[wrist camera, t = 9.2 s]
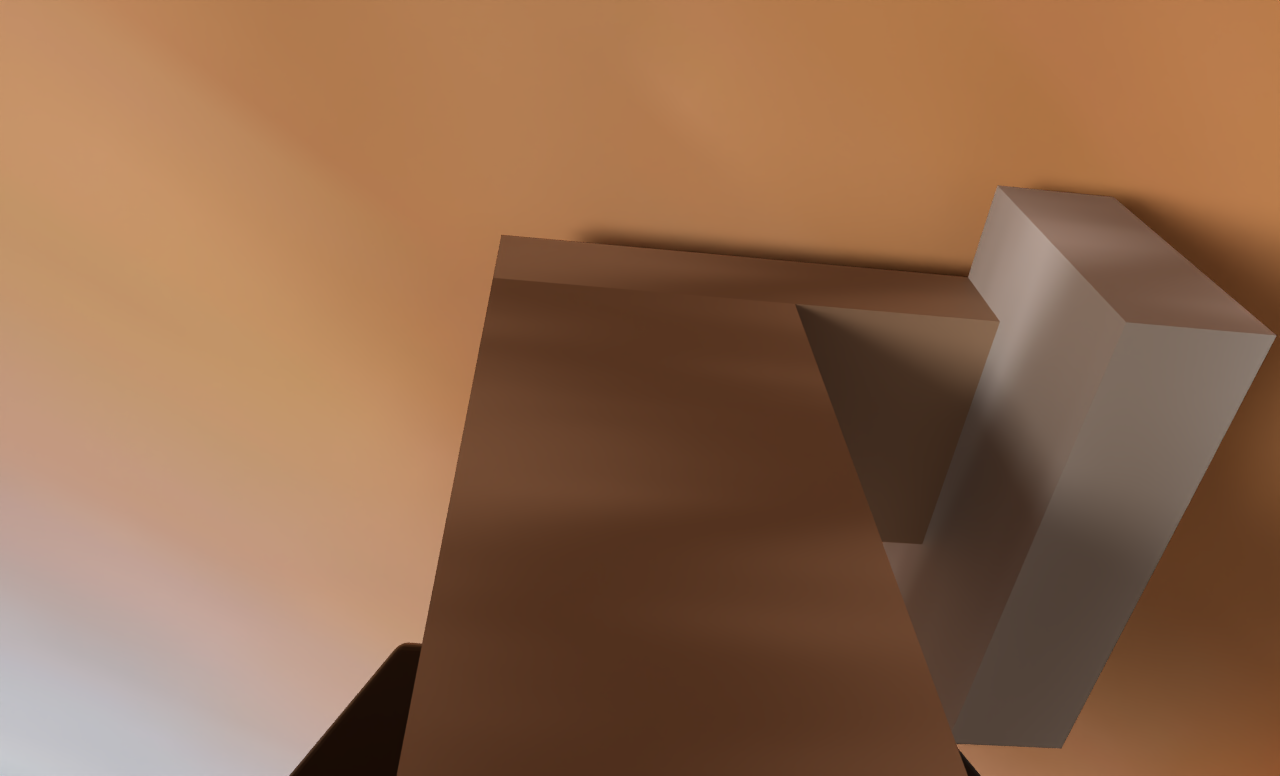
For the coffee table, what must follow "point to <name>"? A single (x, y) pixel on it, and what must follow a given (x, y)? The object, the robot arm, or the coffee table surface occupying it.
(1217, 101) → the coffee table surface
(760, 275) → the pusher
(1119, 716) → the coffee table surface
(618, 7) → the coffee table surface
